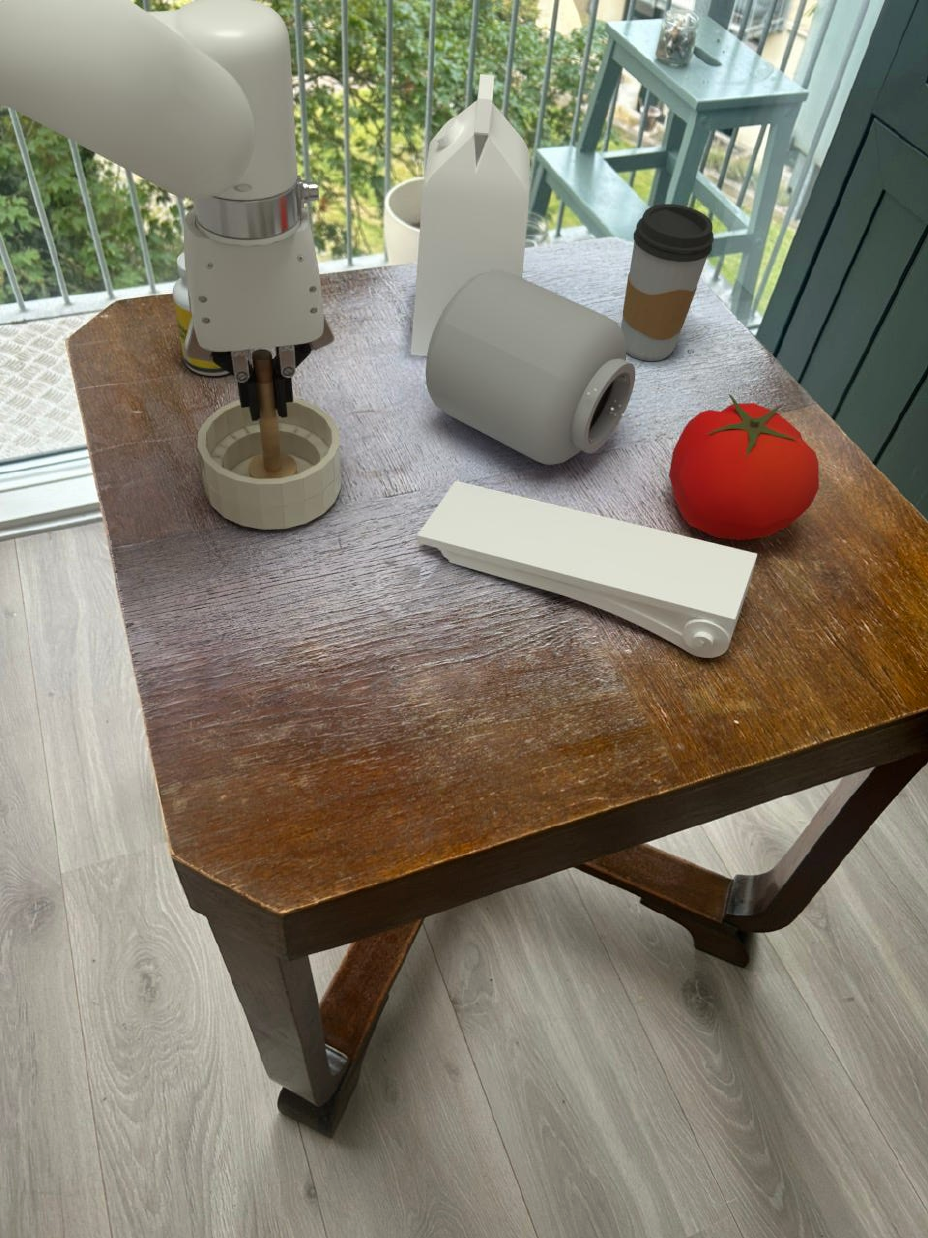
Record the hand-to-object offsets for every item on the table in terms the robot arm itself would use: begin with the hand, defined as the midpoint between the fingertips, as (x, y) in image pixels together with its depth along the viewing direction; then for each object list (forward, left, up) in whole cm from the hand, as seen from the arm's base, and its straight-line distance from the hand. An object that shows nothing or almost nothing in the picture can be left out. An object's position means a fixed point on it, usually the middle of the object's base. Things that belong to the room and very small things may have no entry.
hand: (267, 408), depth 83 cm
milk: (+2, +34, -9) cm, 35 cm away
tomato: (+38, +20, -9) cm, 44 cm away
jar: (+20, +22, -9) cm, 31 cm away
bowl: (0, 0, -9) cm, 9 cm away
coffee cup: (+21, +43, -9) cm, 49 cm away
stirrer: (0, 0, -9) cm, 9 cm away
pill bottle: (-17, +13, -9) cm, 23 cm away
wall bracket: (+29, +5, -9) cm, 31 cm away
